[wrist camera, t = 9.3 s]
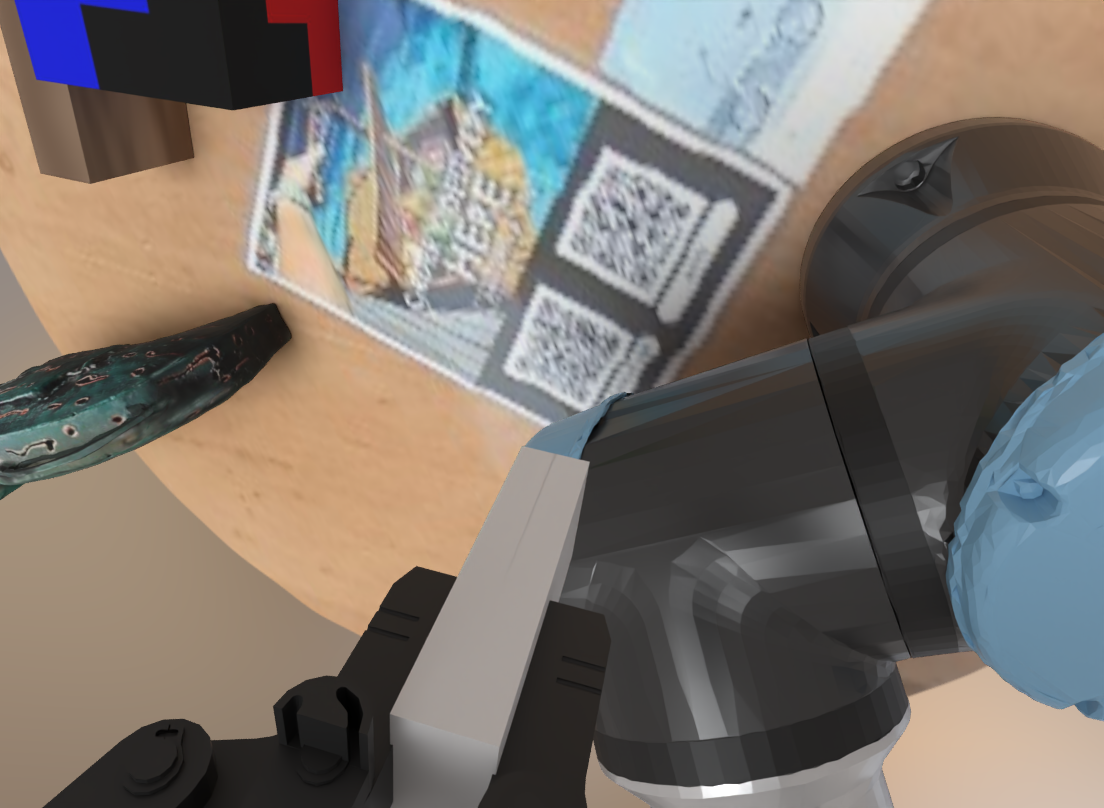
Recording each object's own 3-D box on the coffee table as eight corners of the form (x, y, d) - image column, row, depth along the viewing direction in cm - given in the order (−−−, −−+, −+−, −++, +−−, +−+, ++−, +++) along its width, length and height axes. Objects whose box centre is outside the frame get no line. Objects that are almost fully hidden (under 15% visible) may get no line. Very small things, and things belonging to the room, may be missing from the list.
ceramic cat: (120, 404, 54) (-155, 579, 37) (71, 334, 51) (-251, 488, 34) (313, 355, 47) (83, 542, 30) (268, 271, 44) (-12, 423, 27)
